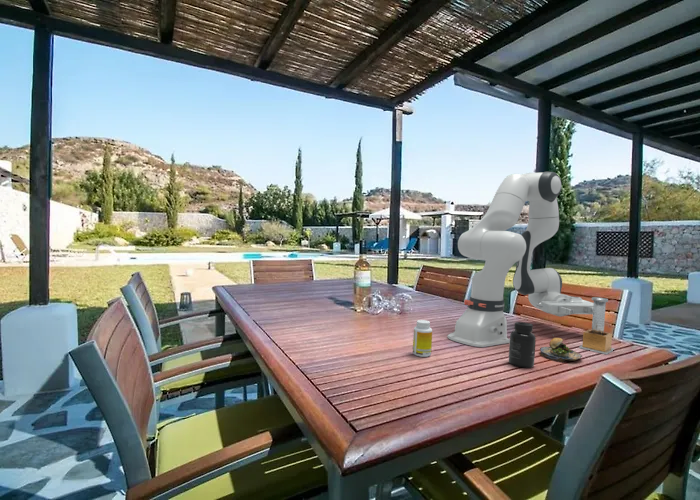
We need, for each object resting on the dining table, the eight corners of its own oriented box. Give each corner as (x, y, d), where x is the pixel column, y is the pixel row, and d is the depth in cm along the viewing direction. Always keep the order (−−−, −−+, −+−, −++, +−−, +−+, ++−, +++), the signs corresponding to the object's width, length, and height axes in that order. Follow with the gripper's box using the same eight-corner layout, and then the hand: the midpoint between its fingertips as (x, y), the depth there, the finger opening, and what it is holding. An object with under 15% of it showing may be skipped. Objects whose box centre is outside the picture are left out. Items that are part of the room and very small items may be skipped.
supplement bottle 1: (434, 356, 113) (436, 322, 112) (419, 358, 110) (421, 324, 110) (423, 350, 118) (425, 318, 117) (408, 352, 115) (410, 319, 115)
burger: (566, 366, 109) (568, 341, 109) (530, 354, 120) (532, 331, 119) (590, 361, 115) (592, 337, 114) (554, 349, 125) (555, 328, 125)
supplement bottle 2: (538, 369, 105) (541, 327, 105) (514, 368, 105) (516, 326, 105) (527, 360, 112) (530, 321, 111) (504, 359, 112) (507, 320, 112)
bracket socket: (606, 354, 121) (607, 337, 121) (579, 348, 127) (580, 331, 127) (614, 350, 127) (615, 334, 126) (587, 344, 133) (588, 328, 132)
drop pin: (602, 350, 124) (605, 300, 123) (586, 346, 127) (589, 297, 127) (606, 348, 127) (610, 298, 126) (591, 344, 130) (594, 296, 130)
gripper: (534, 296, 146) (557, 303, 132) (583, 297, 148) (610, 304, 134) (533, 312, 147) (555, 320, 133) (582, 313, 148) (609, 321, 135)
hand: (583, 312), depth 134 cm, fingers open, 8 cm apart
